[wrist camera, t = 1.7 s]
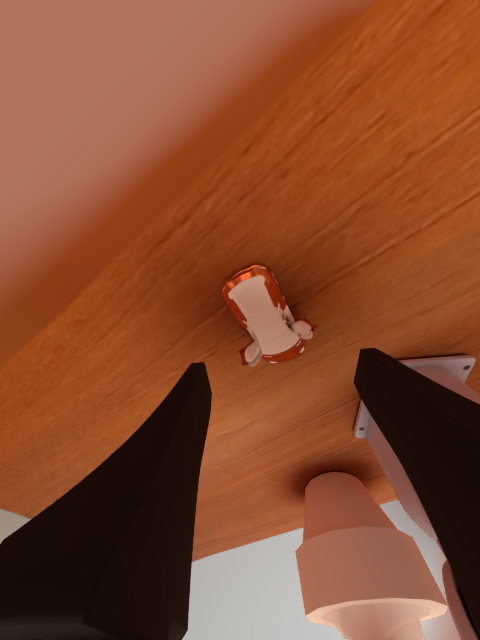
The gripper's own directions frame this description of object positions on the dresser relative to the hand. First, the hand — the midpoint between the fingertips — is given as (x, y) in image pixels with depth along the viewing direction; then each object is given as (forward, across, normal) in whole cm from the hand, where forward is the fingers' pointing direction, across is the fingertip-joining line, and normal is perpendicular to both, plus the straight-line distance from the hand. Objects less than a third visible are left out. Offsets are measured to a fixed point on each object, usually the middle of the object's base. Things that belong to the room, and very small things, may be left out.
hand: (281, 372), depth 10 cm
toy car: (+6, 0, 0) cm, 6 cm away
